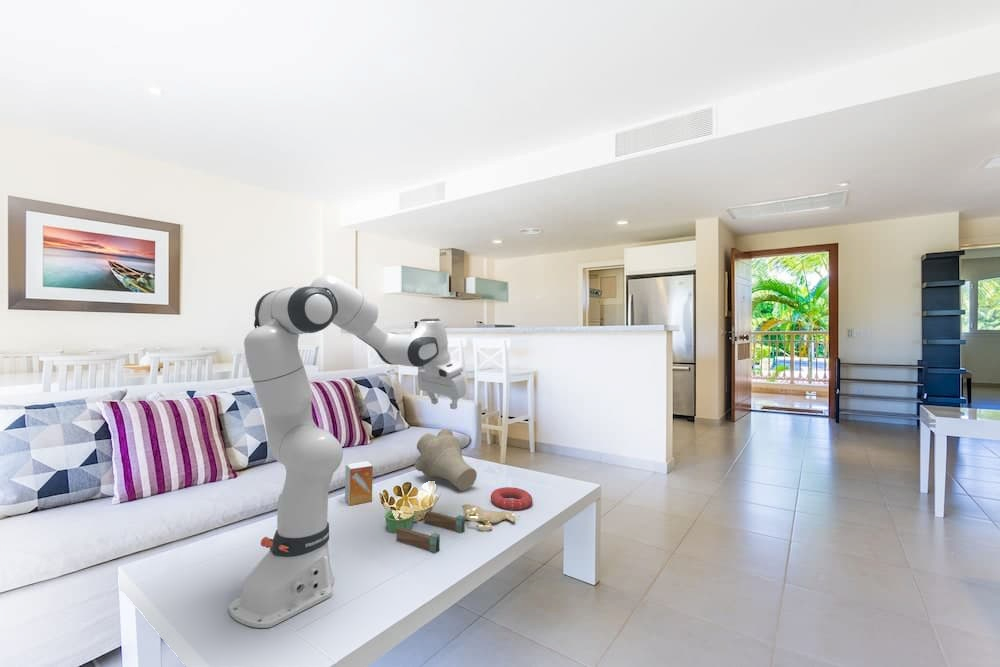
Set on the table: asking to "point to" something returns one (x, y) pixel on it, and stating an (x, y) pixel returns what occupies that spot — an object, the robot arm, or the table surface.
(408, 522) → the ramekin
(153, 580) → the table surface
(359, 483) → the small box
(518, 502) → the torus
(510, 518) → the unicorn
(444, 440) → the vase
